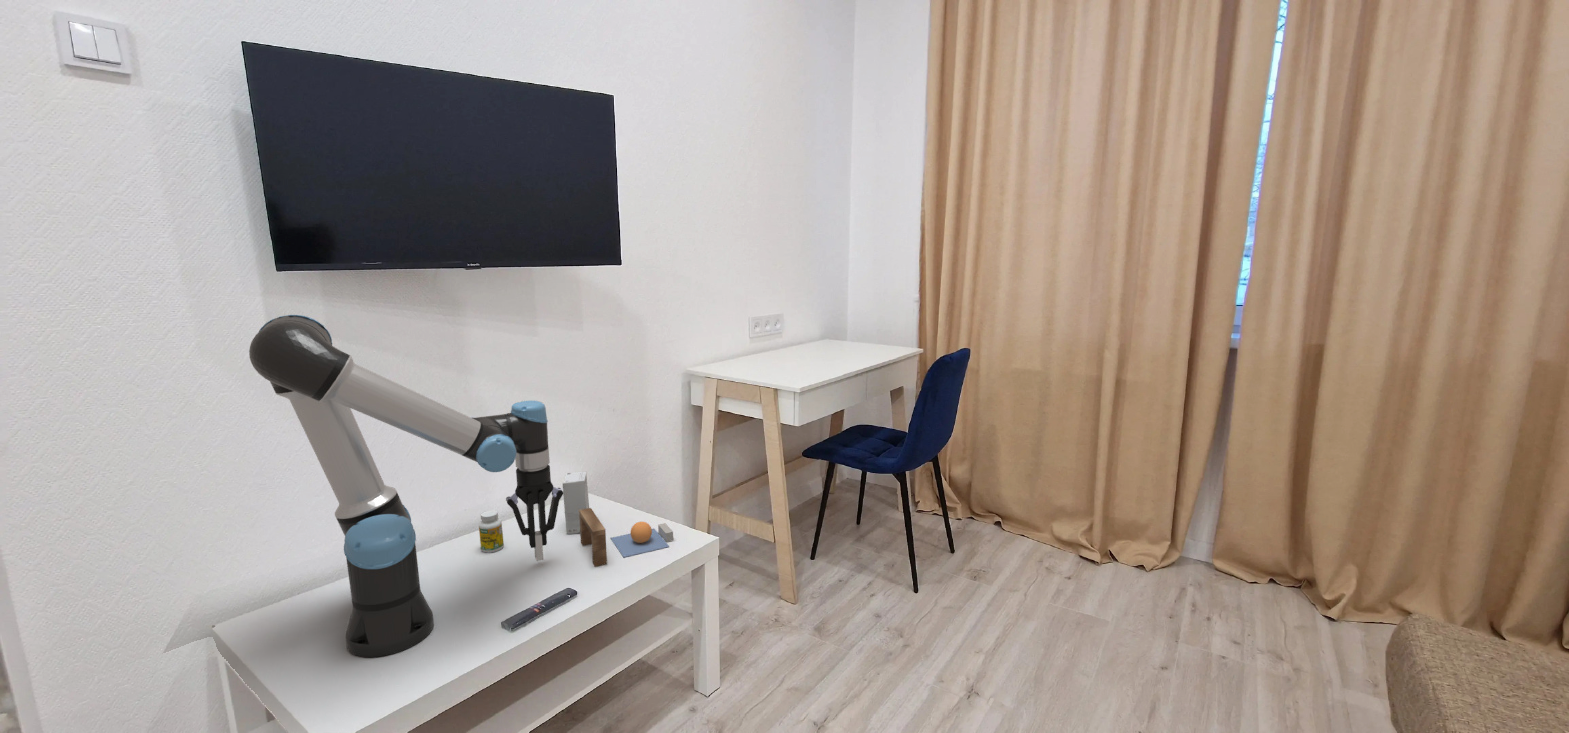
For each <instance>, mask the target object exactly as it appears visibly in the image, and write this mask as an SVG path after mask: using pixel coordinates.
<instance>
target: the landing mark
mask: <svg viewBox="0 0 1569 733" xmlns="http://www.w3.org/2000/svg"><path fill="white" fill-rule="evenodd" d="M651 529H652V535H651V537H650V539H649V540H648V541H646V542H644V543H637V542H635V541H634V540H633V539H632V537H631V532H630V533H626V534H622V535H617V536H613V537H610V540H611V542H612V543H613V545H614V546H615V547H616V549H617V550H618V552H619V553H620V554H621V556H622V557H623V558H624V559H625V558H629V557H632V556H637V555H641V554H646V553H650V552H654V551H658V550H663V549H667V548H670V545H669V544H668V542H666V541H665V540H664V539H663V538H662V537H661V536H660V534H659V533H658V531H657V530H656V529H655V528H654V527H653V528H651Z"/></svg>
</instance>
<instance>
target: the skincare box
mask: <svg viewBox="0 0 1569 733" xmlns="http://www.w3.org/2000/svg"><path fill="white" fill-rule="evenodd" d="M587 475H588V474H587V471H578V472H577V471H575V472H566V473H565V476H564V477H563V481H562V491H563V495H562V497H563V506H564V516H565V518H564V519H565V532H566V535H570V534H580V519H579V510H581V509H587V508H590V502H589V489H588V476H587Z"/></svg>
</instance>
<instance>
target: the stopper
mask: <svg viewBox="0 0 1569 733" xmlns="http://www.w3.org/2000/svg"><path fill="white" fill-rule="evenodd" d="M657 526H658V531H657V532H658V534H659V535H660V536H661V537H662V538H663V539H664V541H665V542H666V543H669V542H672V541H674V531H673V529H671V528H670V526H669V525H667V523H666V522H665V523H663V522H662V523H659V524H657Z"/></svg>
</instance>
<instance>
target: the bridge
mask: <svg viewBox="0 0 1569 733" xmlns="http://www.w3.org/2000/svg"><path fill="white" fill-rule="evenodd" d="M579 519H580V533H579V535H580V544H581V545H582V546H581V547H583V546H589V545H591V554H592V555H591V558H592V565H593V567H594V568H597V567H601V566H604V565H608V556H607V538H606V536H607V533H606V528H605V527H604V524H602V522H601V521H600V519H599V517H598V516H597V515H596V513H595V511H594V510H593V509H592V508H591V507H589V508H587V509H581V510H579Z"/></svg>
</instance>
